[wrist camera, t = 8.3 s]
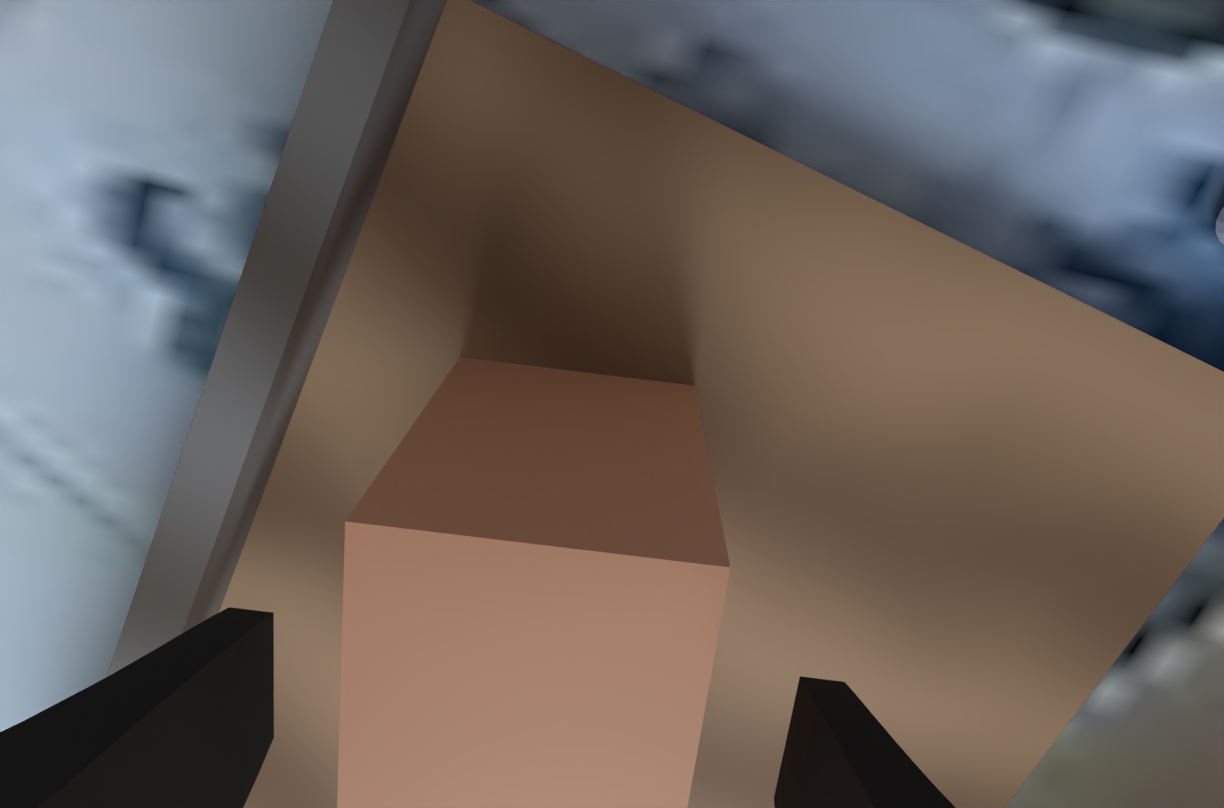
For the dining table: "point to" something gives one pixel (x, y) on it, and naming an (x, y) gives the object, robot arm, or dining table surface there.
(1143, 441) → the brown wooden pallet
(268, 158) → the dining table surface
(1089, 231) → the dining table surface
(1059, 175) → the dining table surface
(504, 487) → the tea tin
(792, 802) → the robot arm
